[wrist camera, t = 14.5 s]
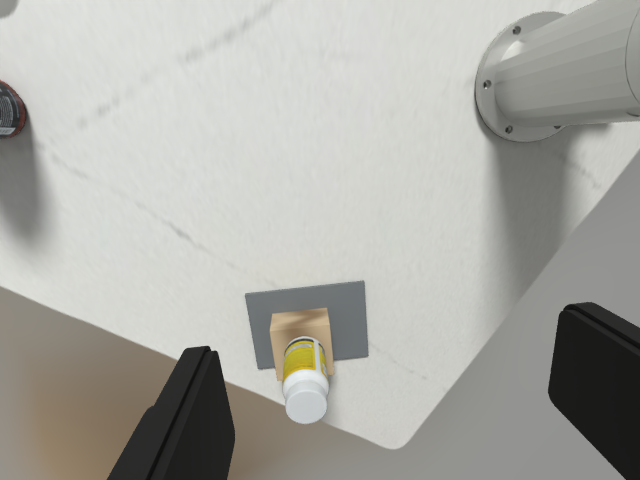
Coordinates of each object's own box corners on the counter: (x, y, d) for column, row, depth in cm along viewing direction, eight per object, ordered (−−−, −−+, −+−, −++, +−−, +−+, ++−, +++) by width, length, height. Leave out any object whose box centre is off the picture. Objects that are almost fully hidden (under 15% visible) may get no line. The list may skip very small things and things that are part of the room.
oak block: (326, 307, 42) (329, 324, 38) (331, 353, 44) (334, 374, 40) (272, 313, 41) (269, 331, 38) (279, 360, 44) (277, 381, 40)
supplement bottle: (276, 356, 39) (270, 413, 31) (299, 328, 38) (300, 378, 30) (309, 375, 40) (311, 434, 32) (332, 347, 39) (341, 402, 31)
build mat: (363, 280, 41) (364, 282, 41) (367, 354, 45) (368, 355, 44) (245, 293, 41) (245, 295, 40) (258, 366, 44) (257, 368, 44)
